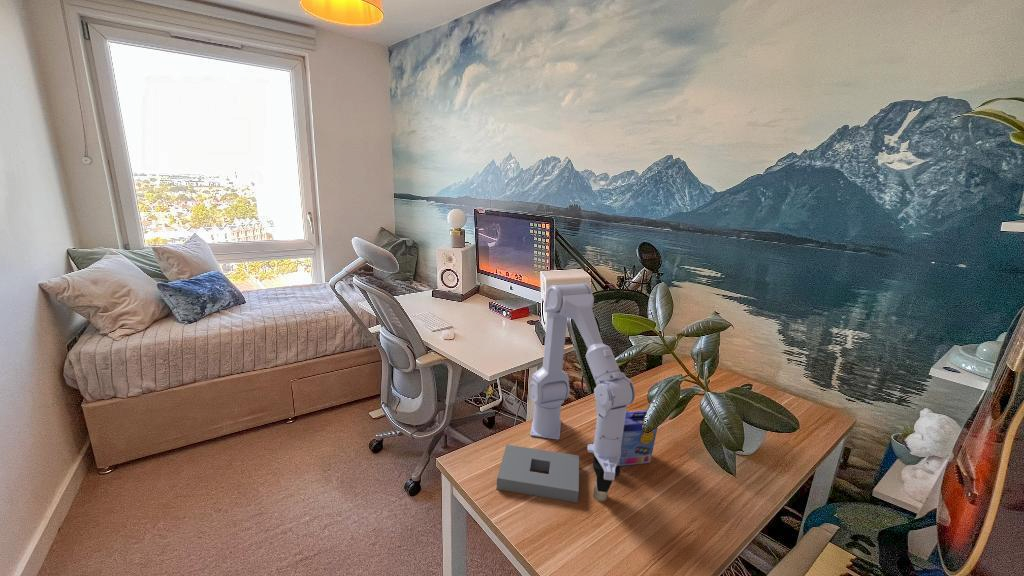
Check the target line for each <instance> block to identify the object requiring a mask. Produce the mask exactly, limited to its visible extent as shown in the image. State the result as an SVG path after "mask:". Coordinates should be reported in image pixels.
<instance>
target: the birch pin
mask: <svg viewBox="0 0 1024 576" xmlns="http://www.w3.org/2000/svg"><path fill="white" fill-rule="evenodd" d="M594 479H595V480H594V488H593V494H592V496H593V498H594V500H596V501H597V502H600V503H601V502H606V501H607V499H608V493H609V491H608V492H601V491H598V489H597V476H596V475H595V478H594Z"/></svg>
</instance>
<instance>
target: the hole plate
mask: <svg viewBox="0 0 1024 576" xmlns="http://www.w3.org/2000/svg"><path fill="white" fill-rule="evenodd" d="M532 470H534V471H532ZM537 471H540V472H537ZM541 472H543V473H541ZM544 472H545V473H544ZM579 488H580V455H577V454H571V453H563V452H557V451H551V450H545V449H544V450H543V449H538V448H537V449H536V448H530V447H526V446H525V447H524V446H519V445H512V444H506V446H505V448H504V452H503V455H502V460H501V463H500V467H499V470H498V473H497V477H496V490H499V491H500V490H501V491H506V492H509V493H518V494H522V495H528V496H536V497H540V498H547V499H553V500H557V501H558V500H559V501H565V502H570V503H576V504H577V503H578V500H579V492H580V489H579Z"/></svg>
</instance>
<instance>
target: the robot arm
mask: <svg viewBox="0 0 1024 576" xmlns="http://www.w3.org/2000/svg"><path fill="white" fill-rule="evenodd" d="M594 302H595V297H594V295H593V291H592V288H591V286H590V285H589V284H588V283H586V282H581V283H572V284H571V283H569V284H551V285H550V286H549V287H548V288H546V292H545V303H544V313H547V315H546V326H545V334H544V335H545V336H544V349H543V357H542V359H543V360H542V366H541V367H540V368H539V369H538V370H537V371H536V372H534V373H532V377H531V381H530V383H529V387H528V389H529V390H528V393H529V396H530V399H531V401H532V402H533V403H534V408H533V409H534V412H533V417H532V423H531V427H530V433H529V435H530V436H531V437H537V438H543V439H545V438H546V439H551V440H560V436H561V426H562V419H561V412H562V404H564V403H565V400H566V399H568V398H569V396H570V391H571V388H570V387H571V386H570V382H569V381H570V377H569V374H568V373H567V372H566V371H564V370H563V364H564V353H565V347H566V345H565V343H566V337H567V336H566V334H567V327H568V326H567V325H568V319H571V320H573V322H574V323H575V326H576V327H577V330H578V331H579V334H580V335H581V338H582V339H583V342H584V345H586V348H587V350H586V354H585V358H586V363H587V364H588V366H589V369H590V372H591V375H592V377H593V380H594V383H595V385H596V386H595V387H594V389H593V393H594V398H595V399H594V400H595V411H596V412H597V414H596V424H595V429H594V430H595V431H594V438H593V442H592V443H589V444H587V447H586V448H587V452H588V453H592V456H593V460H592V468H593V472H594V473H595V477H596V476H597V489H598V491H601V492H608V493H609V490H610V488H611V485H612V483H613V482H614V481H615V479H616V478H615V477H616V476H617V477H618V476H619V475H620V474H621V466H617V464H618V461H619V459H620V456H621V443H622V437H623V430H624V424H625V417H626V412H627V408H628V406H629V405H631V404H633V403H634V401H635V398H636V391H635V387H634V383H633V382H632V380H631V379H630V378H629V377H627V376H626V374H625V372H623V371H621V369H620V368H619V364H618V362H617V361H616V358H615V355H614V353H613V351H612V348H611V347H610V346H609V345H607V344H605V343H604V342H603V340H602V337H601V333H600V331H599V327H598V324H597V321H596V318H595V315H594V312H593V307H594Z"/></svg>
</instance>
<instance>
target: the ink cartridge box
mask: <svg viewBox="0 0 1024 576" xmlns="http://www.w3.org/2000/svg"><path fill="white" fill-rule="evenodd" d="M647 411H648V410H646V409H645V410H637V411H636V410H635V411H630V412H629V411H626V417H625V424H624V430H623V437H622V443H621V456H620V463H619V466H620V467H621V466H631V465H633V466H634V465H641V464H642V465H643V464H650V463H651V461H652V457H653V456H652V455H653V451H654V446H655V442H656V437H657V433H658V428H659V427H657V428H655V429H654V430H652V431H651V432H649V433H645V432H643V430H642V425H643V420H644V417H645V415H646V413H647Z"/></svg>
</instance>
